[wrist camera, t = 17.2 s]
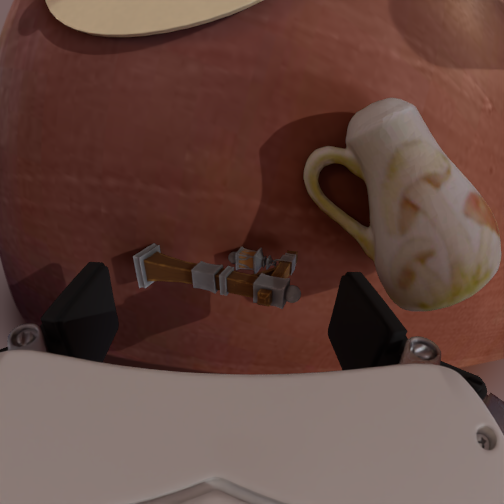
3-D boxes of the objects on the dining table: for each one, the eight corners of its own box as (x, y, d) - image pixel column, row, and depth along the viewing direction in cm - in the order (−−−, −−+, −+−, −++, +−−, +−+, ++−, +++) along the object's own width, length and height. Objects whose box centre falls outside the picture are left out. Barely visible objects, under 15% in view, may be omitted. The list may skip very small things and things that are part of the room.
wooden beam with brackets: (312, 274, 15) (294, 324, 11) (182, 255, 17) (137, 290, 14) (314, 242, 14) (298, 286, 10) (179, 227, 17) (130, 258, 13)
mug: (388, 71, 12) (554, 158, 5) (387, 195, 19) (488, 282, 13) (281, 111, 11) (505, 259, 5) (310, 248, 18) (416, 365, 12)
